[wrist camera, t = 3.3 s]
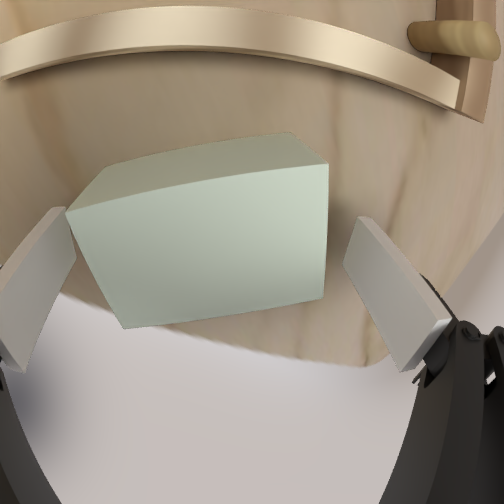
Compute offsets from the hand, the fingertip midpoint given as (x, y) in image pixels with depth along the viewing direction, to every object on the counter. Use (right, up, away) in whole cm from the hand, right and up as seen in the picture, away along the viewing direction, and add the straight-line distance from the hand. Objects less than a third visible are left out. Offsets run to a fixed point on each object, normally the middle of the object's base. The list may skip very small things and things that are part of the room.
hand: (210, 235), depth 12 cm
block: (-1, +2, +2) cm, 3 cm away
